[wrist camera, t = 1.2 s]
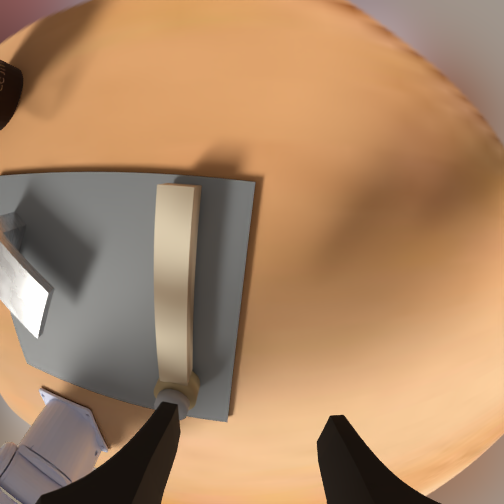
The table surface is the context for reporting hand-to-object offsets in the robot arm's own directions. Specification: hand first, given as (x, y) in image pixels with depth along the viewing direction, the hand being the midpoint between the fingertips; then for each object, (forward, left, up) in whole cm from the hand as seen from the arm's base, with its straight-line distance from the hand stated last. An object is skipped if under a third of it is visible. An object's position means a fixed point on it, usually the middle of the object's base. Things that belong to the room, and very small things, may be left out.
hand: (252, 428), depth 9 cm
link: (0, +5, -8) cm, 10 cm away
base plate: (-1, +13, -9) cm, 16 cm away
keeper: (+1, +18, -9) cm, 20 cm away
